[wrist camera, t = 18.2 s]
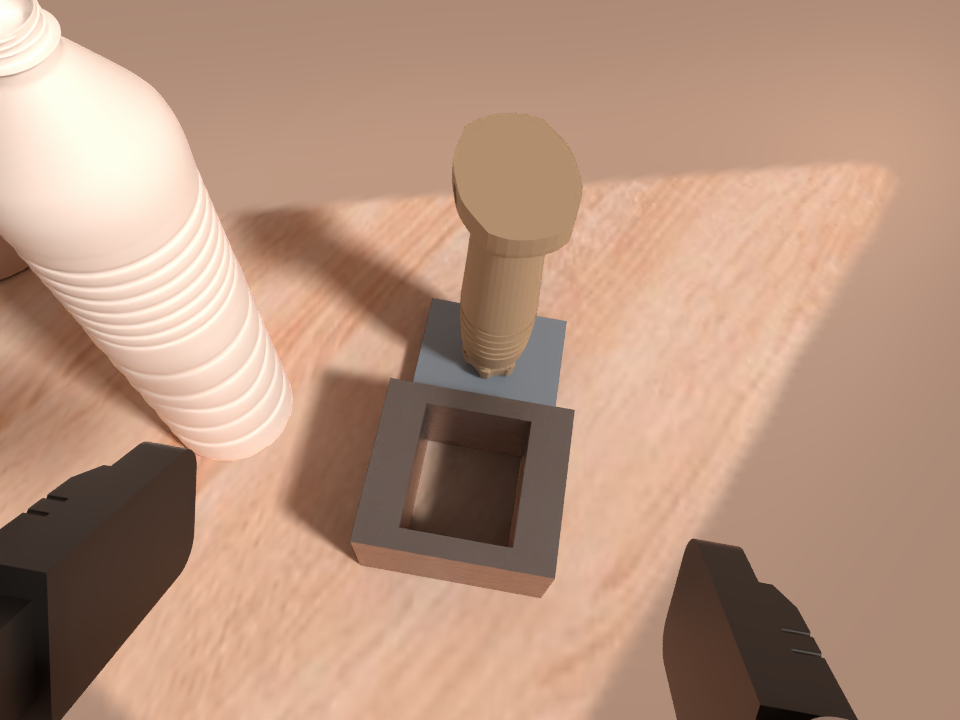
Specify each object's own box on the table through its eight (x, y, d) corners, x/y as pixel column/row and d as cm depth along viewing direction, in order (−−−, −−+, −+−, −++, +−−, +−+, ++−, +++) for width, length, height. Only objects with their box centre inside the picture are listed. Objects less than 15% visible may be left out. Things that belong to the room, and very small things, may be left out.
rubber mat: (411, 396, 41) (411, 389, 40) (432, 307, 44) (432, 298, 43) (552, 420, 41) (554, 413, 40) (564, 329, 44) (566, 321, 43)
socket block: (360, 565, 37) (349, 541, 32) (395, 417, 41) (390, 378, 36) (540, 597, 36) (554, 579, 32) (559, 445, 40) (574, 409, 36)
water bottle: (306, 442, 40) (136, 68, 17) (184, 478, 38) (-167, 126, 16) (272, 311, 43) (96, -137, 21) (159, 340, 42) (-154, -103, 20)
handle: (521, 304, 43) (559, 108, 30) (544, 401, 40) (598, 232, 27) (440, 313, 43) (443, 118, 29) (458, 413, 40) (469, 247, 26)
